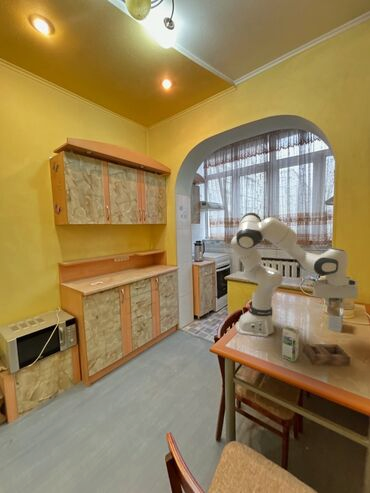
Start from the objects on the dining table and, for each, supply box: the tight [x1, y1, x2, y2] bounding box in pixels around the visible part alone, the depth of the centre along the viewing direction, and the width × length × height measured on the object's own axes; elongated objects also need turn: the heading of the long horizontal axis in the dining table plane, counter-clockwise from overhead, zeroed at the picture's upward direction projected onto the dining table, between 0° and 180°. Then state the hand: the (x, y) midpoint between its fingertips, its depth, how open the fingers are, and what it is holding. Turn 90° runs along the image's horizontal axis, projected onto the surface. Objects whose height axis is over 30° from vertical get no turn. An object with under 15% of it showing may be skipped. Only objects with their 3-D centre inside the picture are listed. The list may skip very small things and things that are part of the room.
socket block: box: [302, 343, 351, 366], centre depth 104 cm, size 16×10×4 cm, turn 84°
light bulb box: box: [327, 307, 345, 333], centre depth 131 cm, size 11×7×11 cm, turn 141°
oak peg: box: [326, 298, 341, 316], centre depth 114 cm, size 4×4×9 cm
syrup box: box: [281, 325, 300, 363], centre depth 105 cm, size 6×6×14 cm
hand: (333, 305), depth 114 cm, fingers closed on oak peg, 4 cm apart
